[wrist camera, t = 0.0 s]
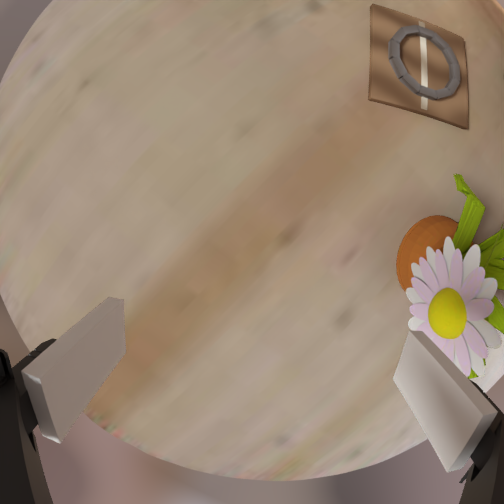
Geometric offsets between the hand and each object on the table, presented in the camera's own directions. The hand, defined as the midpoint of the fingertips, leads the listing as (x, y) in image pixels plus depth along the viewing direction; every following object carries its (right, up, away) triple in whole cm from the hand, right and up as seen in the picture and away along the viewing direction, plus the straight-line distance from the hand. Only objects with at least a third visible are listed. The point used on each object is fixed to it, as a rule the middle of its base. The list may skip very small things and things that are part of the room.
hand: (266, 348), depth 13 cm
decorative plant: (+27, +2, +28) cm, 39 cm away
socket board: (+24, +31, +21) cm, 44 cm away
